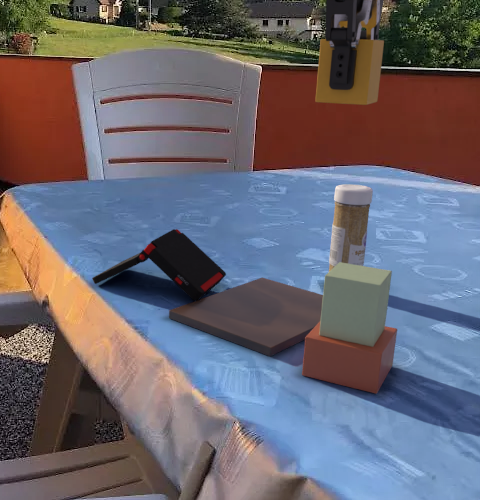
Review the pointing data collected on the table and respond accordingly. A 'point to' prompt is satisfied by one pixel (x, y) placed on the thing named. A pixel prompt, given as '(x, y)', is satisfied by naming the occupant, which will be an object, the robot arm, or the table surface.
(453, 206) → the table surface
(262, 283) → the board
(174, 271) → the handheld gaming console
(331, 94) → the top block
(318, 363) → the base block
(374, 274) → the middle block
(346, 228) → the spice jar
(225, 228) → the table surface
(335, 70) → the robot arm
